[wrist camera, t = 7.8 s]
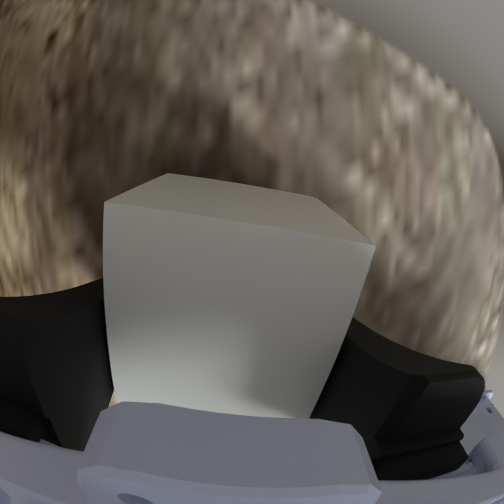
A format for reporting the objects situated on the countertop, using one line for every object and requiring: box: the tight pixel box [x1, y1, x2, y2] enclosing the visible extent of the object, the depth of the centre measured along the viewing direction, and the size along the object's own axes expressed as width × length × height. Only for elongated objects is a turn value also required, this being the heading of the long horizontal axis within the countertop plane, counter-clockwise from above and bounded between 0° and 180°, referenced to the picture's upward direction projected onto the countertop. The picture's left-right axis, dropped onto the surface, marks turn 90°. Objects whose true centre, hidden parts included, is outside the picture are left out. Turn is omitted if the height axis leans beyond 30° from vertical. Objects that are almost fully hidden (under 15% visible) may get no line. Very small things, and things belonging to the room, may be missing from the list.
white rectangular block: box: [103, 173, 376, 419], centre depth 10 cm, size 6×9×6 cm, turn 170°
